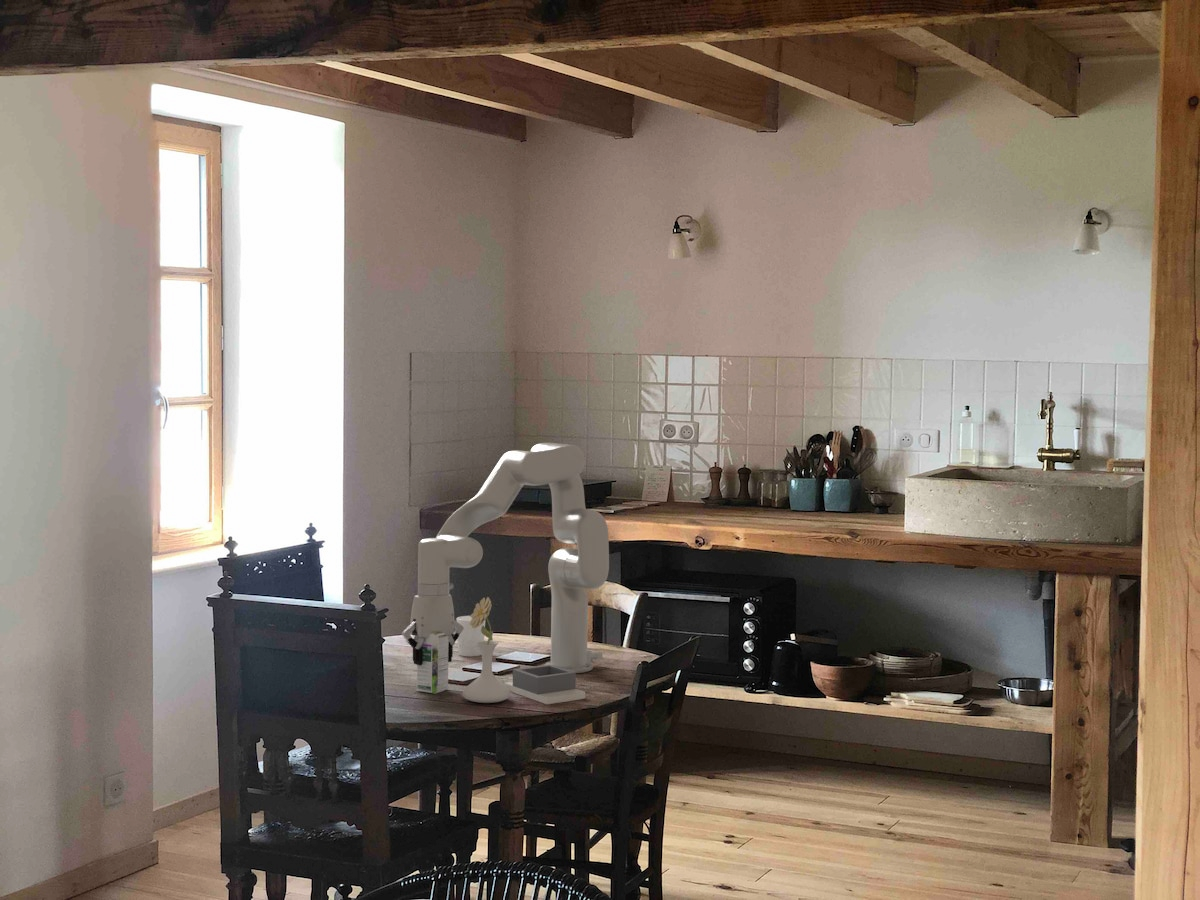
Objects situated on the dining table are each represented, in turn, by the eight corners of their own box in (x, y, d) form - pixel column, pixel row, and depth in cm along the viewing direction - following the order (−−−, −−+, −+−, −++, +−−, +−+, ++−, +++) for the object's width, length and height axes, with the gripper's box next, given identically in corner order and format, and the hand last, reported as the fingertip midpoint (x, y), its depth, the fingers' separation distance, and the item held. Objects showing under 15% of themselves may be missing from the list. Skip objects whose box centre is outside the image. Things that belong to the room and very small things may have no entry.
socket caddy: (541, 683, 341) (541, 661, 340) (585, 698, 325) (585, 675, 325) (503, 688, 334) (503, 666, 334) (546, 704, 319) (546, 681, 319)
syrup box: (415, 691, 330) (415, 631, 329) (429, 686, 335) (430, 627, 334) (435, 694, 327) (435, 634, 326) (449, 689, 332) (449, 630, 332)
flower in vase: (462, 695, 327) (463, 591, 325) (510, 695, 327) (512, 591, 326) (461, 708, 314) (462, 600, 312) (511, 708, 314) (512, 600, 313)
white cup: (458, 657, 371) (459, 621, 370) (453, 652, 378) (454, 616, 378) (487, 656, 373) (487, 620, 372) (482, 651, 380) (482, 615, 380)
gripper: (457, 585, 338) (456, 656, 339) (393, 590, 328) (393, 663, 329) (472, 589, 332) (471, 661, 333) (408, 594, 322) (407, 669, 323)
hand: (432, 662), depth 331 cm, fingers closed on syrup box, 7 cm apart
